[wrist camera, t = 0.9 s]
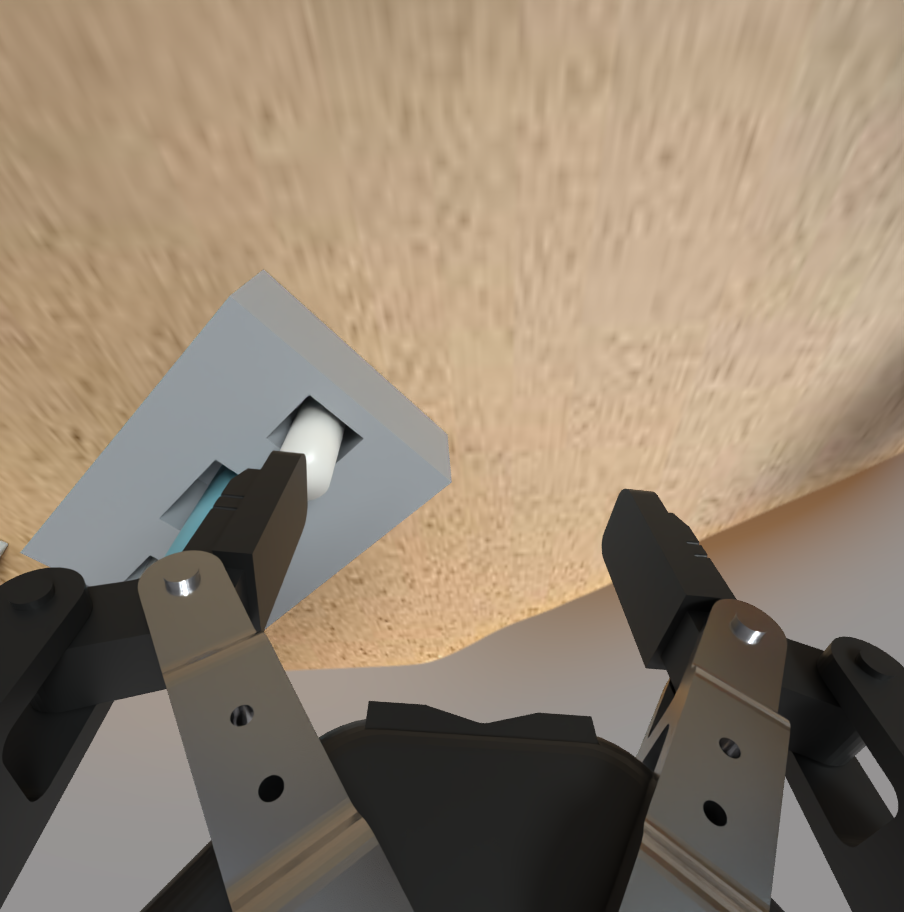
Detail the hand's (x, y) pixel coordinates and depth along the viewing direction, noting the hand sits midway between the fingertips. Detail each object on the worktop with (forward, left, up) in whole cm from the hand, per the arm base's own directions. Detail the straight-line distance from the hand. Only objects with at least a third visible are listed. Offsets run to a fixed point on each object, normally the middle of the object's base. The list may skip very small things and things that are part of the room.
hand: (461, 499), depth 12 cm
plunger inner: (0, -10, -18) cm, 21 cm away
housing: (0, -19, -21) cm, 28 cm away
